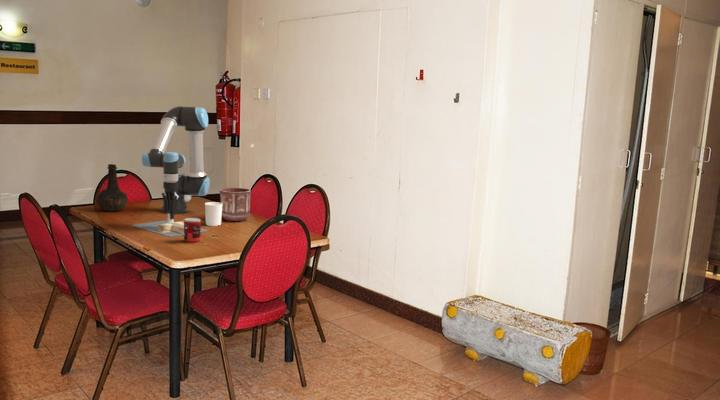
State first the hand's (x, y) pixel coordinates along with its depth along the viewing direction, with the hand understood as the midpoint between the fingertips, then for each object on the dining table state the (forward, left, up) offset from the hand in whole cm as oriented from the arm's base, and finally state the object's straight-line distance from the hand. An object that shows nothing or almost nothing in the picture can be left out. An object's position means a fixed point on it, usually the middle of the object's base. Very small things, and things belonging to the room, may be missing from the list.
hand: (170, 224), depth 329 cm
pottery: (-42, +3, -2) cm, 42 cm away
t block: (0, +8, -2) cm, 8 cm away
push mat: (0, -1, -2) cm, 2 cm away
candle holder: (-24, +6, -2) cm, 25 cm away
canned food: (+9, +31, -2) cm, 32 cm away
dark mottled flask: (-3, -63, -2) cm, 63 cm away
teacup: (-55, -64, -2) cm, 85 cm away
